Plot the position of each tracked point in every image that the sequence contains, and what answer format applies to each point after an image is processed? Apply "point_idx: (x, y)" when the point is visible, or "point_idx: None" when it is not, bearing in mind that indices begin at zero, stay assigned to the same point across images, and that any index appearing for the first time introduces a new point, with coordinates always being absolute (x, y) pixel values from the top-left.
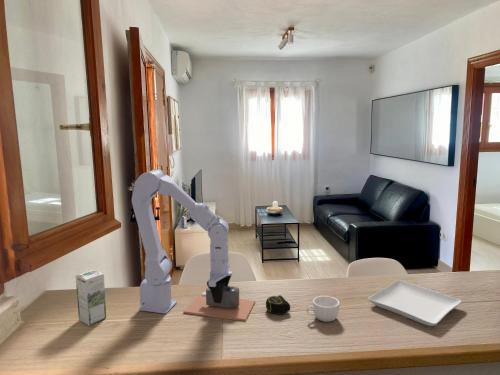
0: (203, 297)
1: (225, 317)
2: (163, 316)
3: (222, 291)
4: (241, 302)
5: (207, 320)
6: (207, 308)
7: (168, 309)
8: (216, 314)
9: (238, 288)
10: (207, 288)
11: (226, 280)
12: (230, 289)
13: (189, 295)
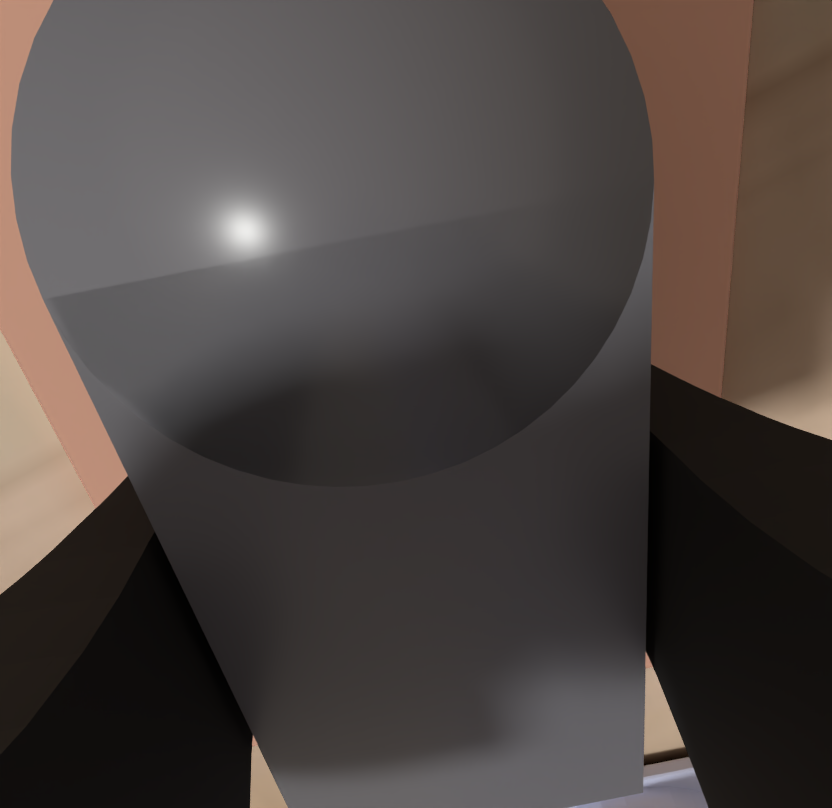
0: None
1: (737, 52)
2: None
3: (723, 457)
4: (10, 6)
5: (826, 309)
6: None
7: (691, 771)
8: (701, 259)
9: (69, 10)
10: (555, 805)
11: (100, 756)
12: (366, 314)
13: (270, 794)
